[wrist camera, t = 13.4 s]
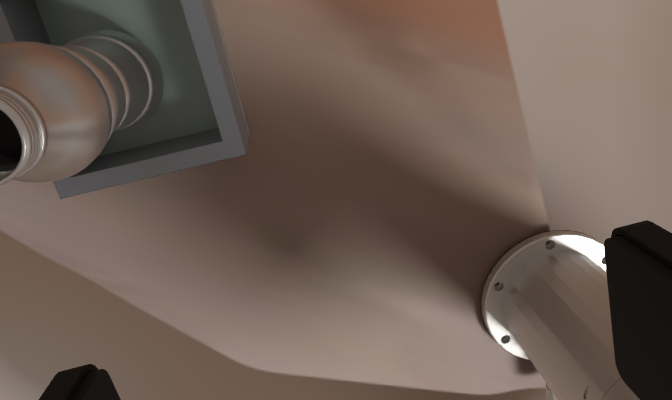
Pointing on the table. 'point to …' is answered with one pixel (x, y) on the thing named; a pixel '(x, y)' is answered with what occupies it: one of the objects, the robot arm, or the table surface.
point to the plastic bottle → (71, 101)
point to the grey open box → (178, 92)
